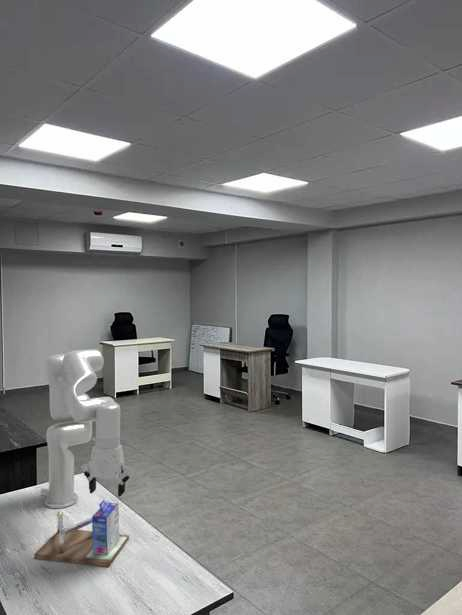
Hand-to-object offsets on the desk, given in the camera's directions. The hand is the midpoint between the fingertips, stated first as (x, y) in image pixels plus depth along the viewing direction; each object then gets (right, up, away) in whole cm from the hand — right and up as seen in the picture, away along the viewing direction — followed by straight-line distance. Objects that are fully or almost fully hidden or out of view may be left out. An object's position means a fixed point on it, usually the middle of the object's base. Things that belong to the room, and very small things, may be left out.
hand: (106, 493), depth 149 cm
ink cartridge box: (0, -18, 0) cm, 18 cm away
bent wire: (-13, -17, +3) cm, 22 cm away
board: (-8, -19, +2) cm, 21 cm away
